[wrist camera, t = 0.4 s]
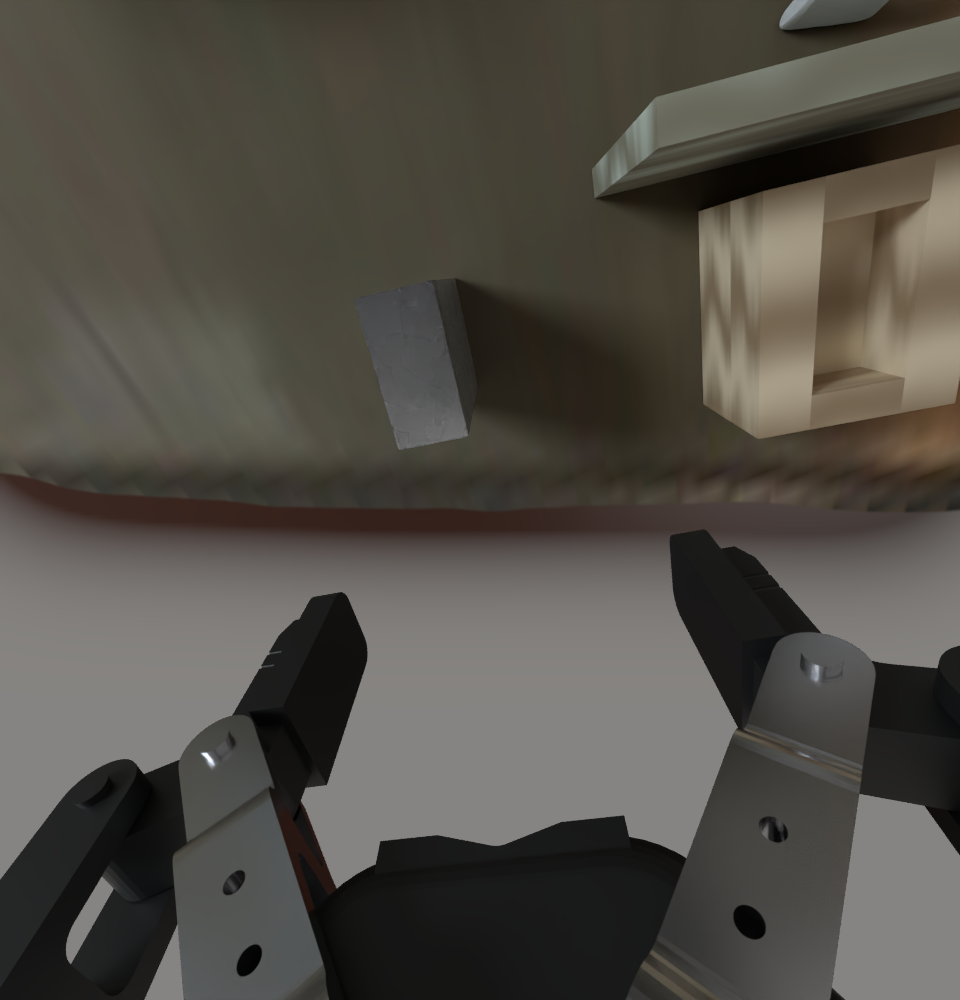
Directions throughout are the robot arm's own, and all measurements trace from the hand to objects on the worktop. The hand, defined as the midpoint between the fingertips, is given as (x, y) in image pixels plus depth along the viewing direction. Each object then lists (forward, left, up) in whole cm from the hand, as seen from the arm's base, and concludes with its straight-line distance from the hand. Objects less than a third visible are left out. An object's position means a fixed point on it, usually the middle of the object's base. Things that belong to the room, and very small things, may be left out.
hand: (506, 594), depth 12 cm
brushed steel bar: (-4, -3, -25) cm, 25 cm away
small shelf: (-4, +19, -25) cm, 31 cm away
